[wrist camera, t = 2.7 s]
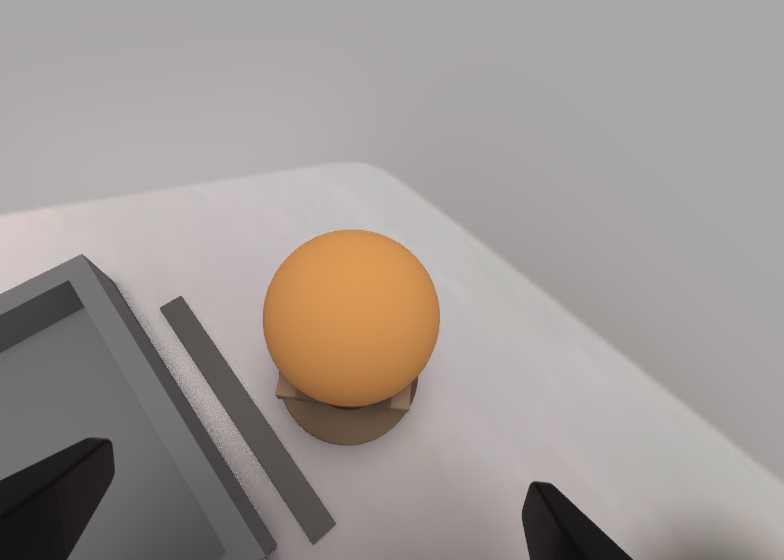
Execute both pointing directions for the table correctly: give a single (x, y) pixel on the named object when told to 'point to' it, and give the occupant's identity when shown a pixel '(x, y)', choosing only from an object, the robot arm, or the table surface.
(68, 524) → the robot arm
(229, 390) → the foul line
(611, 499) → the table surface
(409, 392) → the tee
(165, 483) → the grey square tray
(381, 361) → the ball
